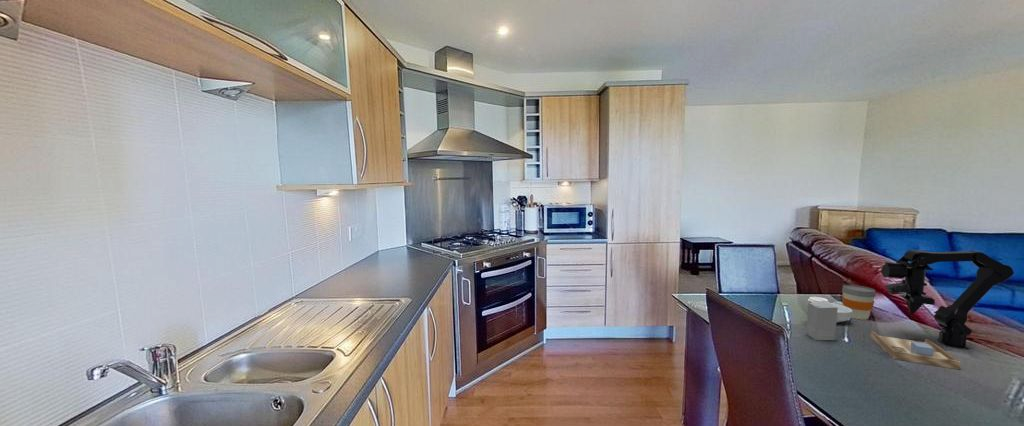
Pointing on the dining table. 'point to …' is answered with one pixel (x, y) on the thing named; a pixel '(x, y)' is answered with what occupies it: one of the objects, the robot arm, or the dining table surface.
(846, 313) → the cereal bowl
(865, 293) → the reusable coffee cup
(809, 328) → the skincare box
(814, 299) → the paper cup
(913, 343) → the slate block
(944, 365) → the tray
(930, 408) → the dining table surface
